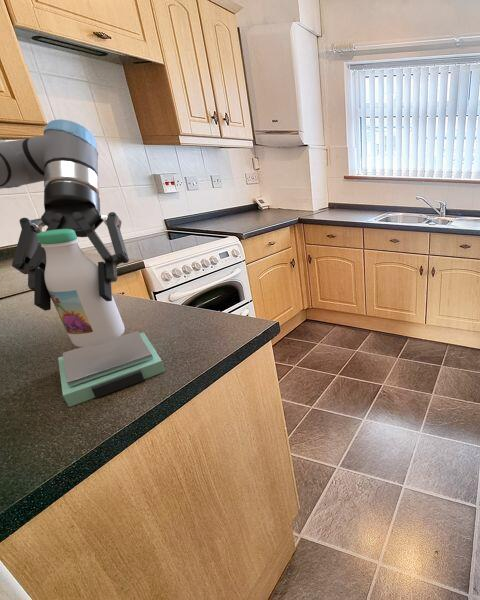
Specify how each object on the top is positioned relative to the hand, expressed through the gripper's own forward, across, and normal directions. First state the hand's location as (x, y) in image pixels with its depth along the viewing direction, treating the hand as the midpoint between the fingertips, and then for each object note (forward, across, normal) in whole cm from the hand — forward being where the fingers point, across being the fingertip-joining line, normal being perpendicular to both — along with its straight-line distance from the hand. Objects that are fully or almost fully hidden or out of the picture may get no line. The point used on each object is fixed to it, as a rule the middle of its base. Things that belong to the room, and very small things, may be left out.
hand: (75, 302), depth 57 cm
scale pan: (+7, 0, -12) cm, 14 cm away
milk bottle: (+4, 0, -9) cm, 9 cm away
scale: (+9, 0, -14) cm, 16 cm away
